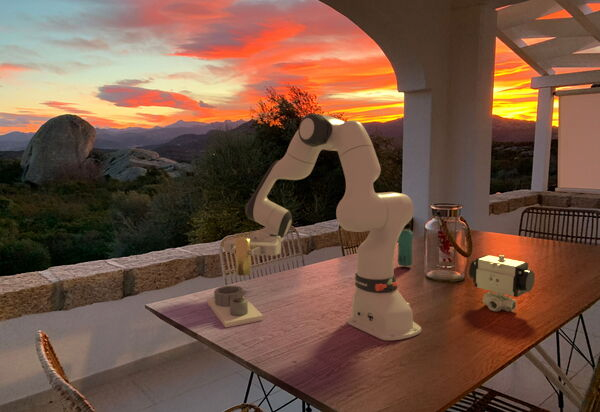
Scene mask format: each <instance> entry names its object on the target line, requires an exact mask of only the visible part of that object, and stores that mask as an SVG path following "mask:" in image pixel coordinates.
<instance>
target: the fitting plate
mask: <svg viewBox="0 0 600 412" xmlns="http://www.w3.org/2000/svg"><path fill="white" fill-rule="evenodd" d="M213 292H214V293H213V294H214V298H209V299H207V305H208V307H209V308H210V309H211V310H212V312H213V313H214V315H215V316H216V317H217V318H218V320H219V321H220V322H221V324H222V325H223V326H224V327H225V328H230V327H236V326H240V325H245V324H250V323H255V322H260V321H263V320H264V314H262V313H261V311H259V310H258V309H257V308H256V307H255V306H254V304H252V303H251V302H250V301H249V300H248V299H247V298H246V297H245V296H244V289H243V288H242V287H241V286H239V285H225V286H220V287H217V288H216V289H215V290H214V291H213Z"/></svg>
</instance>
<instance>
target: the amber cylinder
mask: <svg viewBox="0 0 600 412" xmlns="http://www.w3.org/2000/svg"><path fill="white" fill-rule="evenodd" d="M248 237H249V236H241V237H237V238H236V237H235V238H236V239H235V238H234V239H235V247H236V254H235V269H236V270H235V271H236V275H238V276H248V275H251V274H252V257H251V256H252V255H249V254H248V253H249V252H248V251H249V250H250V238H248Z"/></svg>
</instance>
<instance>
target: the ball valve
mask: <svg viewBox="0 0 600 412" xmlns="http://www.w3.org/2000/svg"><path fill="white" fill-rule="evenodd" d="M468 274H469V278H470V279H472V282H473V283H474V286H473V287H475V288H477V289H482V290H487V291H489V292H485V293H484V294H483V297H482V302H483V304H484V305H486V306H487V308H488V309H489V310H490V311H491V312H492V311H493V312H500V311H501V310H502V311H505V312H512V313H513V312H514V311H515V310H516V308H517V300H516V299H513V298H512V297H515V298H518V297H520V296H522V295H524V294H526V293H530V292H531V291H532V290H533V287H534V285H535V279H536V278H535V277H536V276H535V272H534V270H530V267H529V262H526V261H519V260H515V259H510V258H505V255H502V254H499V255H498V256H494V255H488V254H485V255H482V256H479V257H477V258H475V259H473V260H472V261H471V263H470V265H469V269H468Z"/></svg>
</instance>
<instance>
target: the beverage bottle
mask: <svg viewBox="0 0 600 412" xmlns="http://www.w3.org/2000/svg"><path fill="white" fill-rule="evenodd" d="M411 224H412V223H410V222H408V223H407V224H406V225H405V227H404V228H403V230H402V232H401V234H400V236H399V238H398V241H397V245H398V246H397V248H398V249H397V264H398V265H399V266H400V267H401V266H402V267H410V266H413V257H414V256H413V255H414V254H413V253H414V249H413V244H414V240H413V239H414V233H413V232H412V230H410V229H411V228H412V226H411Z"/></svg>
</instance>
